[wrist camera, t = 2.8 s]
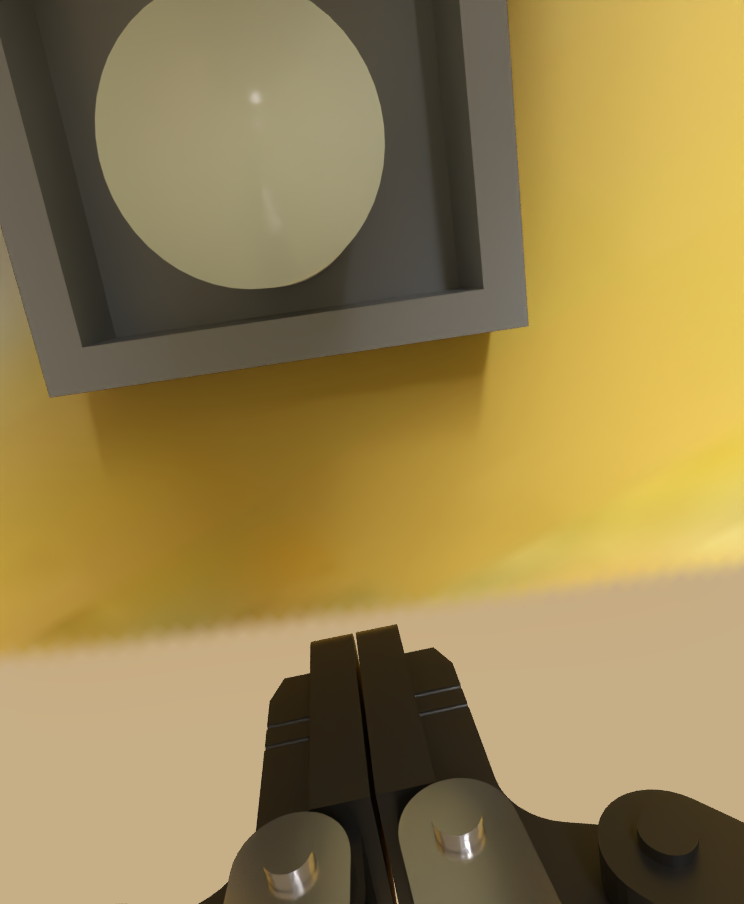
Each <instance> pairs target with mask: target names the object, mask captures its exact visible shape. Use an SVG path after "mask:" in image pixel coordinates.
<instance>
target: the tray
mask: <svg viewBox="0 0 744 904" xmlns="http://www.w3.org/2000/svg"><path fill="white" fill-rule="evenodd" d="M152 1H153V0H0V225H1V229H2V232H3V236H4V239H5V243H6V246H7V250H8V253H9V257H10V260H11V264H12V267H13V271H14V274H15V278H16V281H17V285H18V288H19V292H20V295H21V299H22V302H23V306H24V309H25V313H26V316H27V320H28V323H29V327H30V330H31V334H32V337H33V341H34V344H35V348H36V351H37V354H38V358H39V361H40V365H41V368H42V372H43V375H44V379H45V382H46V386H47V389H48V393H49V396H50V398H51V397H58V396H64V395H71V394H78V393H84V392H91V391H98V390H104V389H111V388H118V387H124V386H131V385H138V384H144V383H151V382H158V381H165V380H171V379H178V378H185V377H191V376H198V375H205V374H211V373H218V372H225V371H231V370H238V369H245V368H252V367H258V366H265V365H272V364H278V363H285V362H292V361H298V360H305V359H312V358H318V357H325V356H332V355H338V354H345V353H352V352H359V351H365V350H372V349H379V348H385V347H392V346H399V345H405V344H412V343H419V342H425V341H432V340H439V339H445V338H452V337H459V336H466V335H472V334H479V333H486V332H492V331H499V330H506V329H512V328H519V327H526V326H528V311H527V296H526V281H525V266H524V251H523V236H522V221H521V206H520V191H519V176H518V161H517V146H516V130H515V115H514V100H513V85H512V70H511V55H510V40H509V25H508V10H507V0H309V1H311V2H312V3H314V4H315V5H316V6H317V7H319V8H320V9H321V10H322V11H324V12H325V13H326V14H327V15H328V16H330V18H331V19H332V20H333V21H334V22H335V23H336V24H337V25H338V26H339V27H340V28H341V29H342V30H343V31H344V32H345V34H346V35H347V36H348V38H349V39H350V40H351V42H352V43H353V44H354V46H355V47H356V49H357V50H358V52H359V54H360V56H361V57H362V59H363V61H364V63H365V64H366V66H367V68H368V71H369V73H370V75H371V78H372V80H373V82H374V85H375V88H376V91H377V95H378V98H379V102H380V105H381V111H382V117H383V123H384V137H385V151H384V165H383V171H382V176H381V181H380V185H379V188H378V192H377V195H376V198H375V201H374V204H373V206H372V208H371V210H370V212H369V214H368V216H367V218H366V220H365V222H364V223H363V225H362V227H361V228H360V230H359V231H358V233H357V234H356V236H355V237H354V238H353V239H352V241H351V242H350V243H349V244H348V245H347V247H346V248H345V249H344V250H343V251H342V253H341V254H340V255H339V256H338V257H337V259H336V260H335V261H334V262H333V263H332V264H331V265H330V266H329V267H328V268H326V269H325V270H324V271H322V272H321V273H320V274H318V275H317V276H315V277H313V278H311V279H309V280H307V281H304V282H301V283H298V284H295V285H290V286H285V287H275V288H262V289H239V288H229V287H225V286H220V285H215V284H212V283H209V282H206V281H203V280H200V279H197V278H195V277H193V276H191V275H189V274H187V273H185V272H183V271H181V270H179V269H177V268H176V267H174V266H173V265H171V264H170V263H168V262H167V261H165V260H164V259H162V258H161V257H160V256H159V255H158V254H156V253H155V252H154V251H153V250H152V249H151V248H149V247H148V246H147V245H146V244H145V243H144V241H143V240H142V239H141V238H140V237H139V236H138V235H137V234H136V233H135V232H134V230H133V229H132V228H131V226H130V225H129V223H128V222H127V221H126V219H125V218H124V217H123V215H122V213H121V212H120V210H119V208H118V206H117V205H116V203H115V201H114V199H113V197H112V195H111V193H110V190H109V188H108V185H107V183H106V181H105V178H104V175H103V171H102V168H101V164H100V161H99V156H98V150H97V143H96V135H95V109H96V98H97V92H98V88H99V83H100V79H101V75H102V72H103V69H104V66H105V64H106V61H107V58H108V56H109V54H110V52H111V50H112V48H113V46H114V44H115V43H116V41H117V39H118V37H119V36H120V35H121V33H122V32H123V30H124V29H125V28H126V26H127V25H128V24H129V22H130V21H131V20H132V19H133V18H134V17H135V16H136V15H137V14H138V13H139V12H140V11H141V10H142V9H143V8H144V7H145V6H147V5H148V4H149V3H151V2H152Z"/></svg>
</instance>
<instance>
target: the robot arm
mask: <svg viewBox="0 0 744 904" xmlns="http://www.w3.org/2000/svg"><path fill="white" fill-rule="evenodd" d="M356 638H357V645H358V655H359V660H358V655H357V650H356V645H355V641H354V637H353V634H348V635H343V636H338V637H333V638H328V639H323V640H319V641H314V642H311V646H310V650H311V651H310V673H309V674H305V675H300V676H295V677H290V678H285V679H284V680H283V682H282V683H281V685H280V686H279V688H278V690H277V691H276V693H275V694H274V696H273V697H272V699H271V700H270V705H269V714H268V723H267V727H268V730H267V732H266V742H265V748H266V751H264V761H263V771H262V780H261V789H260V798H259V808H258V818H257V827H256V832H255V833H254V834H253V835H252V836H251V837H250V838H249V839H248V840H247V841H246V842H245V843H244V845H243V846H242V848H241V849H240V851H239V852H238V854H237V856H236V858H235V860H234V862H233V865H232V868H231V872H230V876H229V881H228V882H227V883H226V884H225V885H224V886H223V887H222V888H221V889H220V890H218V891H217V892H216V893H214V894H213V895H212V896H211V897H209V898H207V899H206V900H204V901H202V902H201V903H199V904H397V903H396V896H395V888H396V893H397V897H398V902H399V904H744V823H743V822H741V821H739V820H737V819H735V818H732V817H730V816H728V815H726V814H724V813H722V812H720V811H718V810H715V809H713V808H711V807H709V806H707V805H705V804H703V803H700V802H698V801H696V800H694V799H692V798H689V797H687V796H684V795H681V794H677V793H674V792H670V791H663V790H641V791H635V792H631V793H627V794H625V795H623V796H621V797H618V798H617V799H616V800H614V801H613V802H611V803H610V805H608V807H607V808H606V809H605V810H604V812H603V814H602V815H601V817H600V821H599V824H598V825H595V824H582V823H569V822H559V821H552V820H548V819H544V818H541V817H538V816H536V815H533V814H531V813H529V812H527V811H525V810H523V809H521V808H520V807H518V806H517V805H516V804H514V803H513V802H512V801H511V800H510V799H509V798H508V797H507V796H506V795H505V794H504V793H503V791H502V790H501V789H500V787H499V785H498V783H497V781H496V779H495V777H494V774H493V772H492V769H491V766H490V763H489V761H488V758H487V755H486V752H485V750H484V747H483V744H482V742H481V739H480V736H479V734H478V731H477V728H476V726H475V723H474V720H473V717H472V715H471V712H470V709H469V707H468V705H467V701H466V698H465V696H464V693H463V690H462V689H461V686H460V682H459V680H458V677H457V674H456V671H455V669H454V666H453V663H452V662H451V661H449V660H448V659H447V658H446V657H444V656H443V655H442V654H441V653H440V652H438V651H437V650H436V649H434V648H428V649H424V650H419V651H415V652H409V653H404V650H403V646H402V642H401V639H400V634H399V630H398V626H397V624H396V625H391V626H386V627H381V628H376V629H371V630H366V631H361V632H357V633H356ZM359 663H360V665H359ZM393 879H394V881H393ZM394 883H395V888H394Z"/></svg>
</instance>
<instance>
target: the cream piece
mask: <svg viewBox="0 0 744 904" xmlns="http://www.w3.org/2000/svg"><path fill="white" fill-rule="evenodd" d="M95 135H96V143H97V150H98V156H99V161H100V164H101V168H102V171H103V175H104V178H105V181H106V183H107V185H108V188H109V190H110V193H111V195H112V197H113V199H114V201H115V203H116V205H117V206H118V208H119V210H120V212H121V213H122V215H123V217H124V218H125V219H126V221H127V222H128V223H129V225H130V226H131V228H132V229H133V230H134V232H135V233H136V234H137V235H138V236H139V237H140V238H141V239H142V240H143V241H144V243H145V244H146V245H147V246H148V247H149V248H151V249H152V250H153V251H154V252H155V253H156V254H158V255H159V256H160V257H161V258H162V259H164V260H165V261H167V262H168V263H170V264H171V265H173V266H174V267H176V268H177V269H179V270H181V271H183V272H185V273H187V274H189V275H191V276H193V277H195V278H197V279H200V280H203V281H206V282H209V283H212V284H215V285H220V286H225V287H229V288H239V289H262V288H275V287H285V286H290V285H295V284H298V283H301V282H304V281H307V280H309V279H311V278H313V277H315V276H317V275H318V274H320V273H321V272H322V271H324V270H325V269H326V268H328V267H329V266H330V265H331V264H332V263H333V262H334V261H335V260H336V259H337V257H338V256H339V255H340V254H341V253H342V251H343V250H344V249H345V248H346V247H347V245H348V244H349V243H350V242H351V241H352V239H353V238H354V237H355V236H356V234H357V233H358V231H359V230H360V228H361V227H362V225H363V223H364V222H365V220H366V218H367V216H368V214H369V212H370V210H371V208H372V206H373V204H374V201H375V198H376V195H377V192H378V188H379V185H380V181H381V176H382V171H383V165H384V151H385V137H384V123H383V117H382V111H381V105H380V102H379V98H378V95H377V91H376V88H375V85H374V82H373V80H372V78H371V75H370V73H369V71H368V68H367V66H366V64H365V63H364V61H363V59H362V57H361V56H360V54H359V52H358V50H357V49H356V47H355V46H354V44H353V43H352V42H351V40H350V39H349V38H348V36H347V35H346V34H345V32H344V31H343V30H342V29H341V28H340V27H339V26H338V25H337V24H336V23H335V22H334V21H333V20H332V19H331V18H330V16H328V15H327V14H326V13H325V12H324V11H322V10H321V9H320V8H319V7H317V6H316V5H315V4H314V3H312V2H311V1H309V0H153V1H152V2H151V3H149V4H148V5H147V6H145V7H144V8H143V9H142V10H141V11H140V12H139V13H138V14H137V15H136V16H135V17H134V18H133V19H132V20H131V21H130V22H129V24H128V25H127V26H126V28H125V29H124V30H123V32H122V33H121V35H120V36H119V37H118V39H117V41H116V43H115V44H114V46H113V48H112V50H111V52H110V54H109V56H108V58H107V61H106V64H105V66H104V69H103V72H102V75H101V79H100V83H99V88H98V92H97V98H96V109H95Z"/></svg>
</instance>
